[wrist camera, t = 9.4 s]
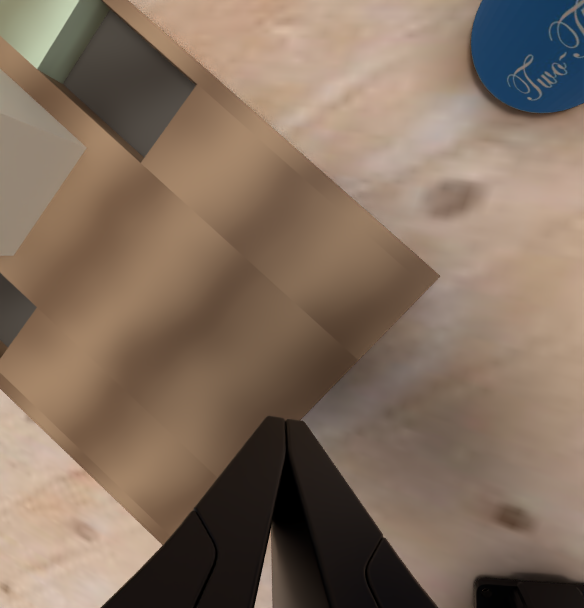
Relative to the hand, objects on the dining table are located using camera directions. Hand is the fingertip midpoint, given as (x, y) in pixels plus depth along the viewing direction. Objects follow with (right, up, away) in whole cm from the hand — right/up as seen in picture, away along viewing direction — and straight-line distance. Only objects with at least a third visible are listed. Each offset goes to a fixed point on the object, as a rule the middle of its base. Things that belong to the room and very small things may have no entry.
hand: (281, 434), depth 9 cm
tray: (-9, +6, +13) cm, 17 cm away
